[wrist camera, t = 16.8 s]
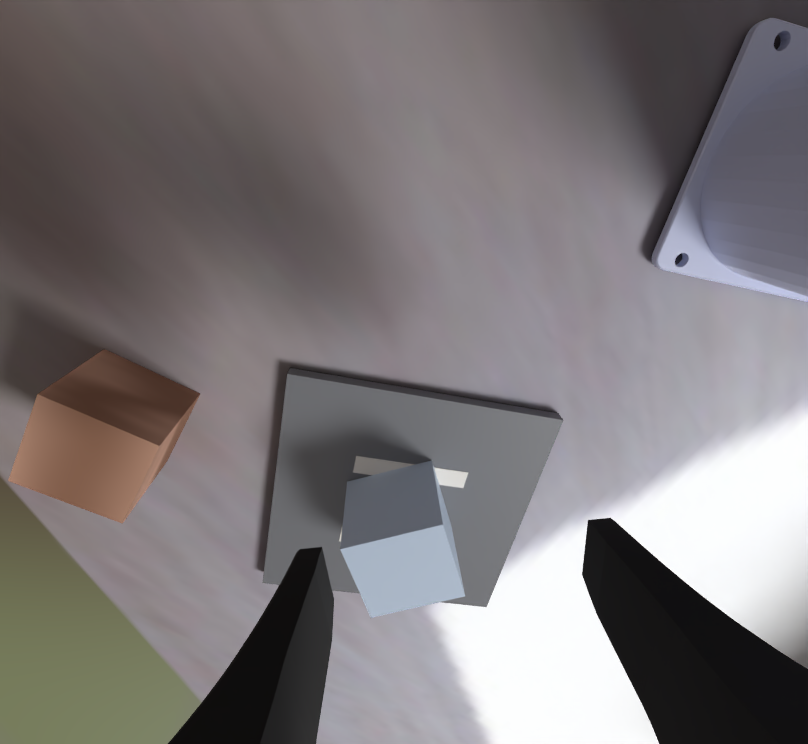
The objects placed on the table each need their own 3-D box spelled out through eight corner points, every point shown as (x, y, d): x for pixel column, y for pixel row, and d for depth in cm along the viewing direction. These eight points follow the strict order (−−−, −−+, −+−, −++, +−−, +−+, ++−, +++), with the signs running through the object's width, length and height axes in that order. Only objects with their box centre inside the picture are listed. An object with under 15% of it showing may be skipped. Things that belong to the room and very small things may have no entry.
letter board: (558, 413, 20) (563, 420, 20) (484, 597, 25) (486, 607, 25) (290, 367, 19) (286, 374, 18) (265, 573, 24) (262, 583, 23)
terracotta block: (201, 392, 19) (159, 445, 16) (167, 460, 21) (122, 523, 17) (105, 348, 18) (37, 394, 15) (77, 422, 20) (8, 480, 16)
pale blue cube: (431, 460, 20) (443, 524, 17) (451, 525, 22) (465, 596, 18) (347, 481, 21) (340, 549, 17) (372, 544, 22) (371, 617, 19)
